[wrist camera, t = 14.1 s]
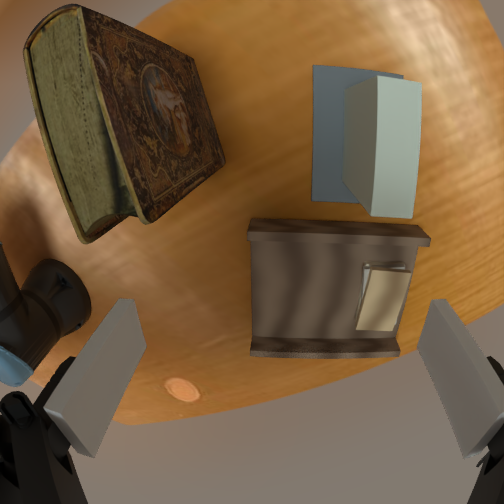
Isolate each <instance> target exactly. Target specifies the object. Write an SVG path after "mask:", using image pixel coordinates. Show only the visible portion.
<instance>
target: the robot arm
mask: <svg viewBox="0 0 504 504" xmlns="http://www.w3.org/2000/svg"><path fill="white" fill-rule="evenodd" d="M90 313H91V303H90V298H89V295H88V293H87V290H86V288H85V286H84V285H83V283H82V282H81V280H80V279H79V277H78V276H77V275H76V274H75V273H74V272H73V271H72V270H71V269H70V268H69V267H67V266H66V265H64V264H63V263H61V262H59V261H56V260H52V259H46V260H43V261H41V262H40V263H38V264H37V265H36V266H35V267H33V269H32V270H31V271H30V274H29V275H28V277H27V279H26V280H25V282H24V284H23V286H22V288H21V290H20V289H19V287H18V285H17V282H16V280H15V278H14V275H13V273H12V271H11V268H10V266H9V263H8V261H7V258H6V256H5V253H4V250H3V248H2V242H1V241H0V381H1V382H2V383H4V384H6V385H9V386H12V387H18V386H21V385H22V384H23V383H24V382H25V381H26V380H27V379H28V378H29V377H30V376H31V375H33V373H34V371H35V369H36V368H37V367H38V366H39V364H40V363H41V362H42V360H43V359H44V358H45V357H46V355H47V354H48V353H49V351H50V350H51V349H52V348H53V346H54V345H55V344H56V343H57V342H58V340H59V339H60V338H62V337H64V336H66V335H68V334H70V333H72V332H74V331H76V330H78V329H79V328H81V327H82V326H83V325H84V324H85V322H86V321H87V320H88V318H89V316H90ZM146 347H147V345H146V342H145V339H144V335H143V332H142V328H141V324H140V321H139V317H138V313H137V309H136V306H135V302H134V299H120V298H119V299H118V301H117V302H116V303H115V305H114V306H113V307H112V309H111V310H110V311H109V313H108V314H107V315H106V317H105V318H104V319H103V321H102V322H101V323H100V325H99V326H98V328H97V329H96V330H95V332H94V333H93V334H92V336H91V337H90V339H89V340H88V341H87V343H86V344H85V346H84V347H83V349H82V350H81V351H80V353H79V354H78V356H77V357H72V356H70V357H69V358H68V359H66V360H65V361H64V362H62V363H61V364H60V366H59V367H58V369H57V370H56V372H55V374H53V376H52V377H51V379H50V382H48V383H47V385H46V386H45V388H44V389H43V390H42V392H41V393H40V395H39V396H38V398H37V400H36V401H35V403H34V404H32V403H31V401H30V400H29V398H28V397H27V395H25V394H24V393H23V392H20V391H14V392H11V393H9V394H7V395H5V396H4V397H3V398H2V400H1V401H0V412H1V414H2V415H0V504H88V502H87V500H86V497H85V495H84V492H83V489H82V486H81V484H80V481H79V478H78V476H77V473H76V470H75V467H74V464H73V461H72V458H71V455H70V453H69V451H68V449H69V447H70V445H72V447H73V448H74V449H75V450H76V451H77V453H80V454H83V455H86V456H89V457H92V458H95V455H96V453H97V451H98V449H99V446H100V444H101V442H102V439H103V437H104V435H105V433H106V431H107V429H108V426H109V424H110V422H111V420H112V418H113V416H114V413H115V411H116V409H117V407H118V405H119V403H120V401H121V398H122V396H123V394H124V392H125V390H126V388H127V386H128V384H129V382H130V380H131V378H132V376H133V374H134V372H135V369H136V367H137V365H138V363H139V361H140V359H141V357H142V355H143V353H144V351H145V349H146ZM417 349H418V351H419V353H420V355H421V357H422V359H423V361H424V364H425V366H426V368H427V370H428V372H429V374H430V377H431V379H432V381H433V383H434V385H435V388H436V390H437V392H438V395H439V397H440V399H441V401H442V404H443V406H444V409H445V411H446V414H447V416H448V419H449V421H450V424H451V426H452V429H453V431H454V434H455V437H456V439H457V442H458V444H459V447H460V450H461V453H462V456H463V458H464V459H465V458H469V457H471V456H474V455H477V454H479V453H480V452H481V451H482V450H483V449H484V448H485V447H486V446H488V448H489V452H488V453H487V454H486V455H485V456H484V457H483V458H482V460H480V461H479V462H478V464H477V466H476V467H479V466H480V465H481V464H482V463H483V465H482V468H481V471H480V474H479V476H478V479H477V482H476V484H475V486H474V489H473V491H472V493H471V496H470V498H469V500H468V503H467V504H504V370H503V368H502V366H501V365H500V364H499V363H498V362H497V361H496V360H495V359H493V358H492V357H491V356H489V357H486V356H485V355H484V353H483V352H482V350H481V349H480V348H479V346H478V344H477V343H476V341H475V340H474V338H473V337H472V335H471V334H470V332H469V331H468V330H467V328H466V327H465V325H464V324H463V322H462V321H461V320H460V318H459V317H458V315H457V314H456V313H455V311H454V310H453V309H452V307H451V306H450V305H449V303H448V302H447V301H446V299H436V300H431V304H430V307H429V311H428V314H427V317H426V321H425V324H424V327H423V330H422V333H421V336H420V339H419V342H418V345H417Z"/></svg>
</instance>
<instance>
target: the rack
mask: <svg viewBox="0 0 504 504" xmlns="http://www.w3.org/2000/svg"><path fill="white" fill-rule="evenodd" d="M247 241H251V288H252V342H251V348H250V356H256V357H277V358H317V359H339V358H379V357H399V354H400V348H399V346H398V343H397V340H396V338H395V337H396V334H397V331H398V327H399V324H400V320H401V317H402V313H403V310H404V306H405V302H406V298H407V294H408V290H409V286H410V282H411V278H412V274H413V269H414V265H415V260H416V255H417V250H418V246H421V247H429V246H430V241H431V238H430V237H429V236H428V235H427V234H426V233H425V232H424V231H423V230H422V229H421V228H420V227H419V226H418V225H404V224H387V223H367V222H345V221H320V220H289V219H251V222H250V225H249V228H248V231H247ZM365 261H378V262H403V263H404V264H405V270H410V272H411V277H410V280H409V283H408V287H407V290H406V293H405V296H404V299H403V302H402V305H401V308H400V311H399V314H398V317H397V322H396V325H394V328H393V331H374V330H356V328H355V323H356V322H355V315H356V309H357V304H358V299H359V293H360V287H361V281H362V275H363V266H364V263H365Z"/></svg>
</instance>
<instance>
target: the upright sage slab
mask: <svg viewBox="0 0 504 504" xmlns="http://www.w3.org/2000/svg"><path fill="white" fill-rule="evenodd" d="M421 107H422V83H419V82H414V81H408V80H403V79H397V78H391V77H385V76H378V75H377V76H375V77H373V78H370V79H368V80H365V81H363V82H361V83H359V84H356V85H354V86H352V87H350V88H347V89H345V90H344V148H343V171H342V181H343V182H344V184H345V185H346V186H347V187H348V188H349V190H350V191H351V192H352V193H353V195H354V196H355V197H356V198H357V200H358V201H359V202H360V203H361V204H362V206H363V207H364V208H365V210H366V211H367V212H368V213H369V215H370V216H378V217H395V218H410V219H412V215H413V208H414V201H415V193H416V184H417V175H418V164H419V152H420V136H421Z"/></svg>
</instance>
